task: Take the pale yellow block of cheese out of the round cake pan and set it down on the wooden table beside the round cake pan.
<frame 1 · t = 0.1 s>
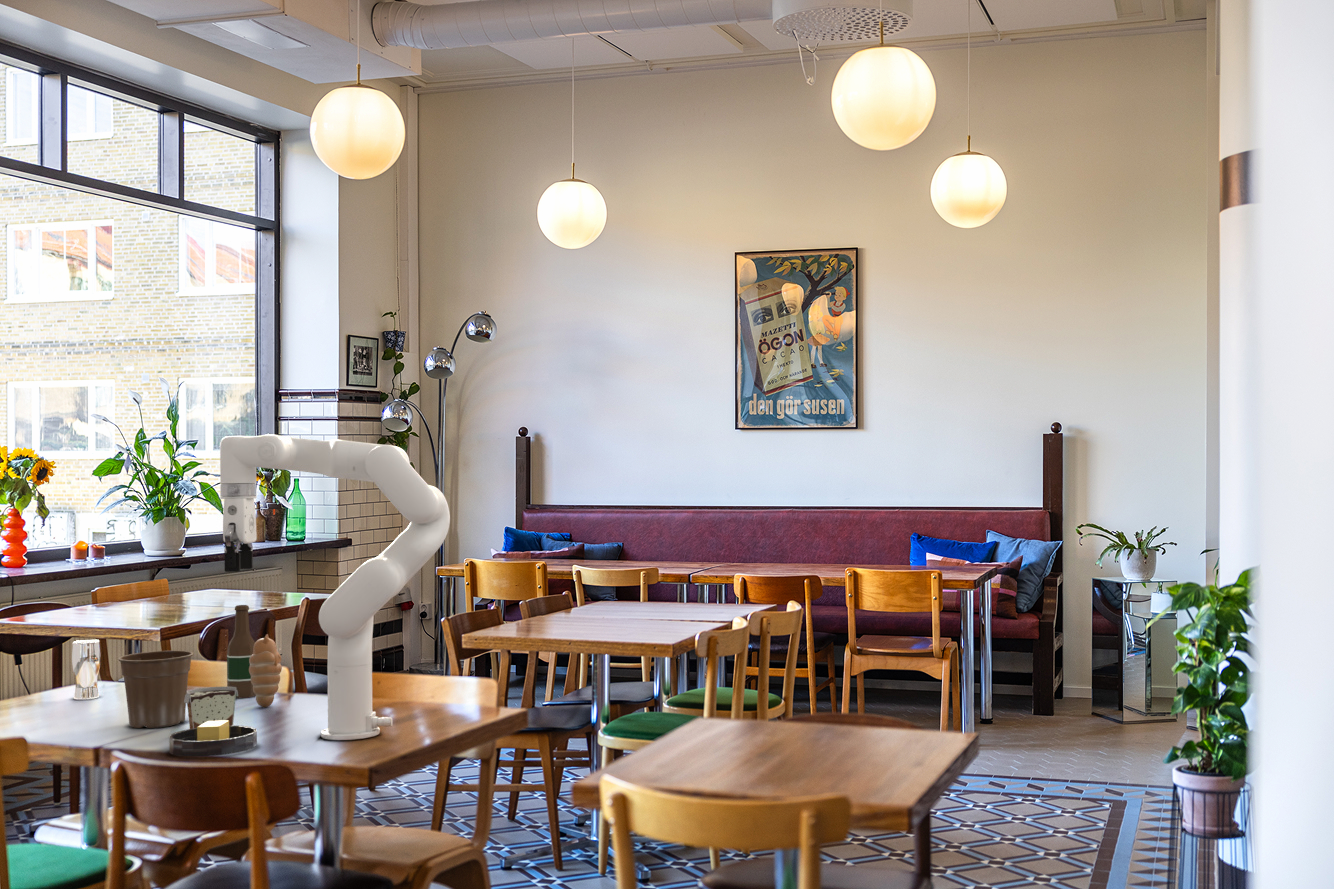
hand: (238, 570, 279), 37 cm above the table, tool pointing down, fingers open, 9 cm apart
cheese: (213, 747, 266), resting on round cake pan
food container: (206, 735, 284), on the table
plant pot: (156, 725, 298), on the table
beer bottle: (242, 696, 337), on the table
round cake pan: (213, 750, 266), on the table
beer glass: (86, 698, 339), on the table
tan ribbed tapered piece: (265, 708, 319), on the table
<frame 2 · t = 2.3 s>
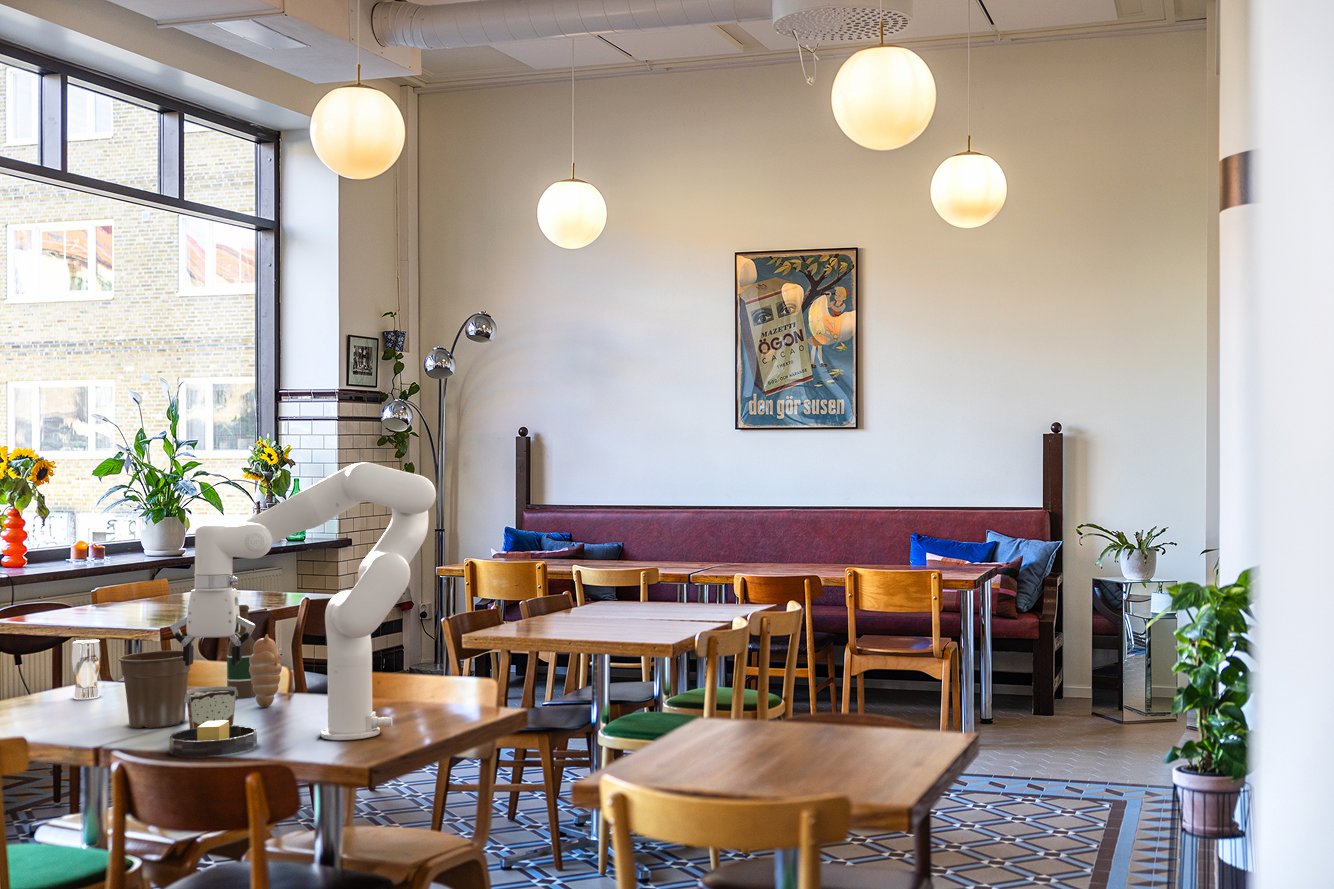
hand: (212, 664, 267), 18 cm above the table, tool pointing down, fingers open, 9 cm apart
nothing on the table moved.
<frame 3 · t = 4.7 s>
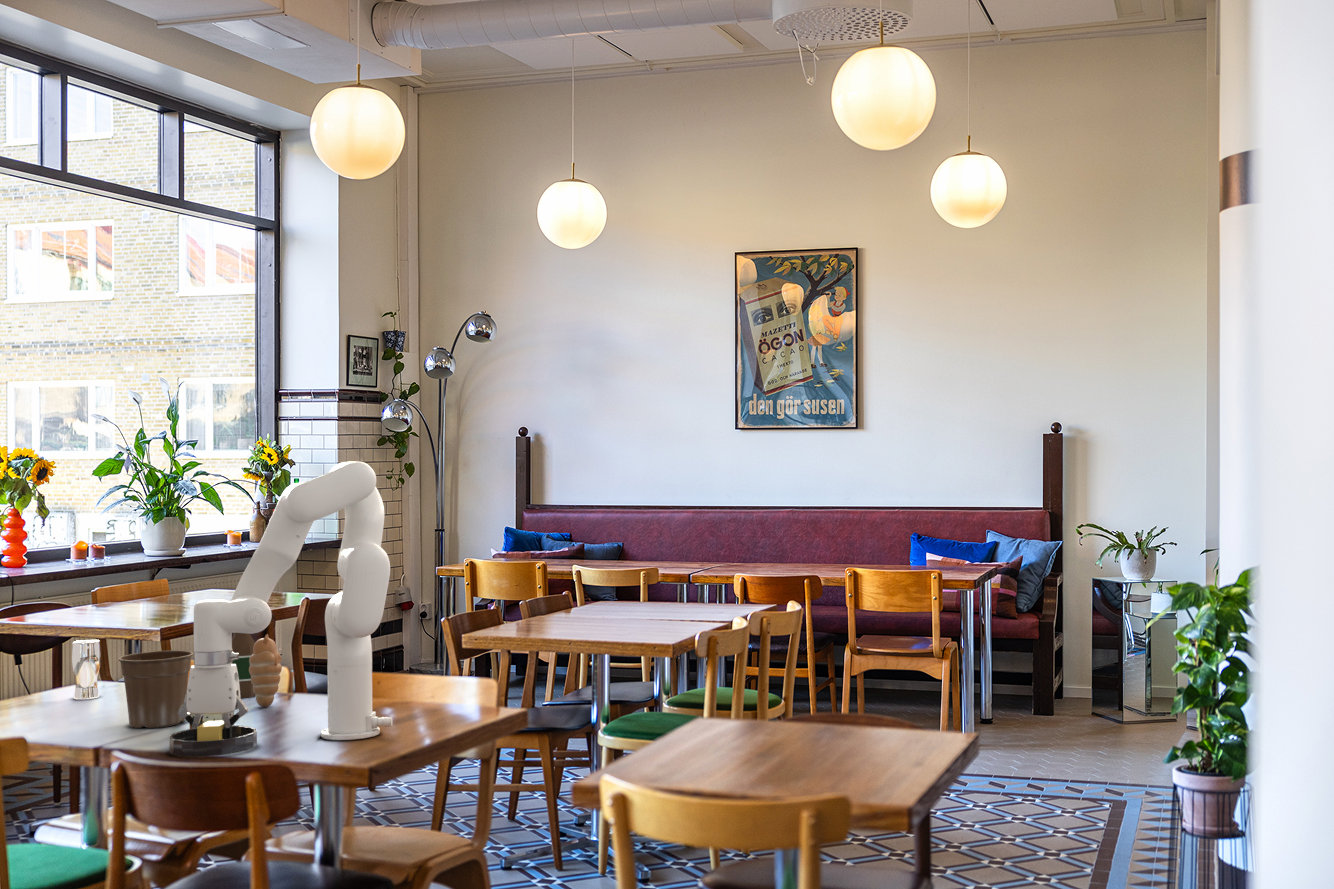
hand: (213, 745, 266), 1 cm above the table, tool pointing down, fingers closed on cheese, 4 cm apart
cheese: (213, 747, 266), point 1 cm above the table, touching gripper, round cake pan
everything else where it was.
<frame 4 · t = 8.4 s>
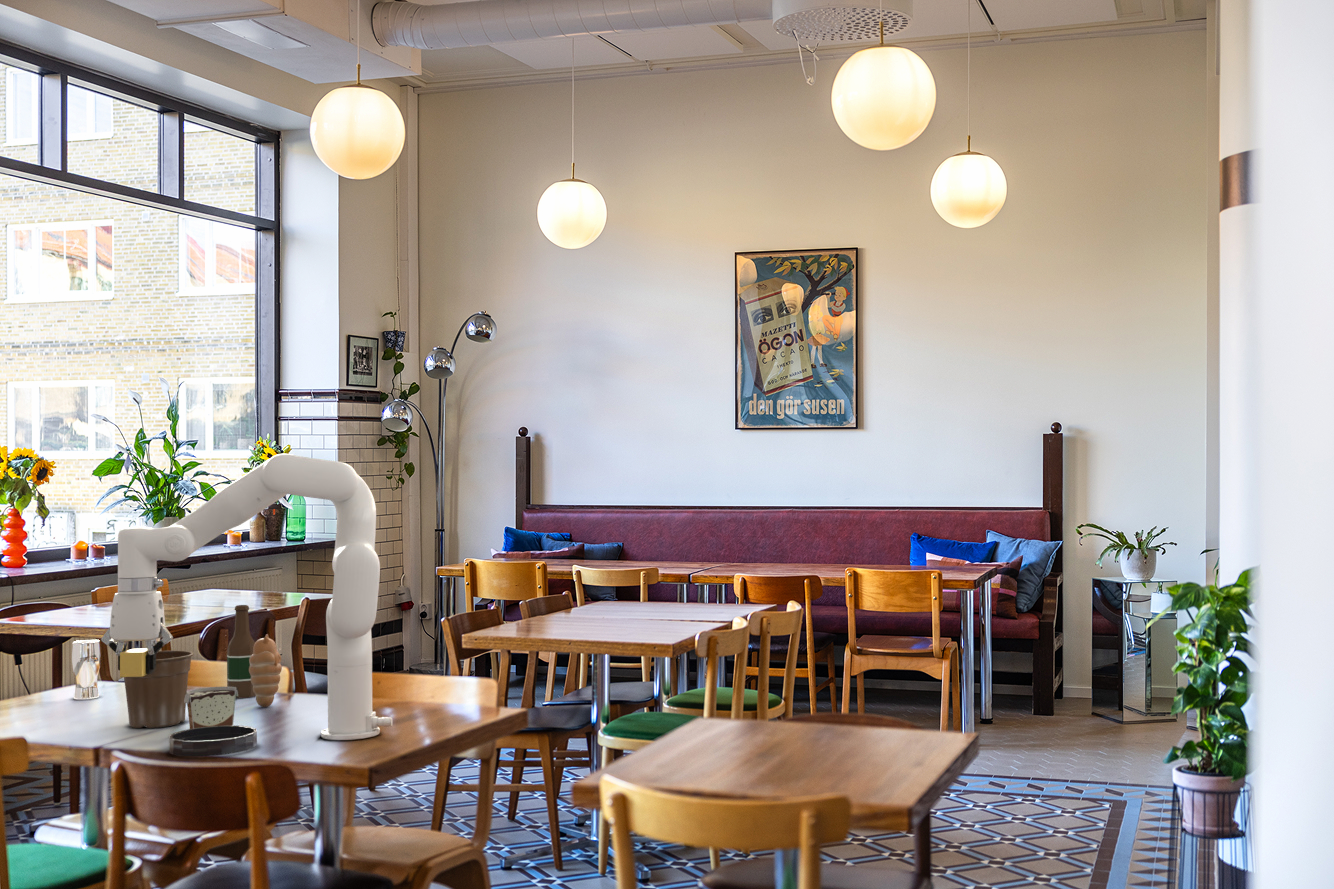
hand: (137, 672, 266), 16 cm above the table, tool pointing down, fingers closed on cheese, 4 cm apart
cheese: (137, 674, 266), point 16 cm above the table, touching gripper
everything else where it was.
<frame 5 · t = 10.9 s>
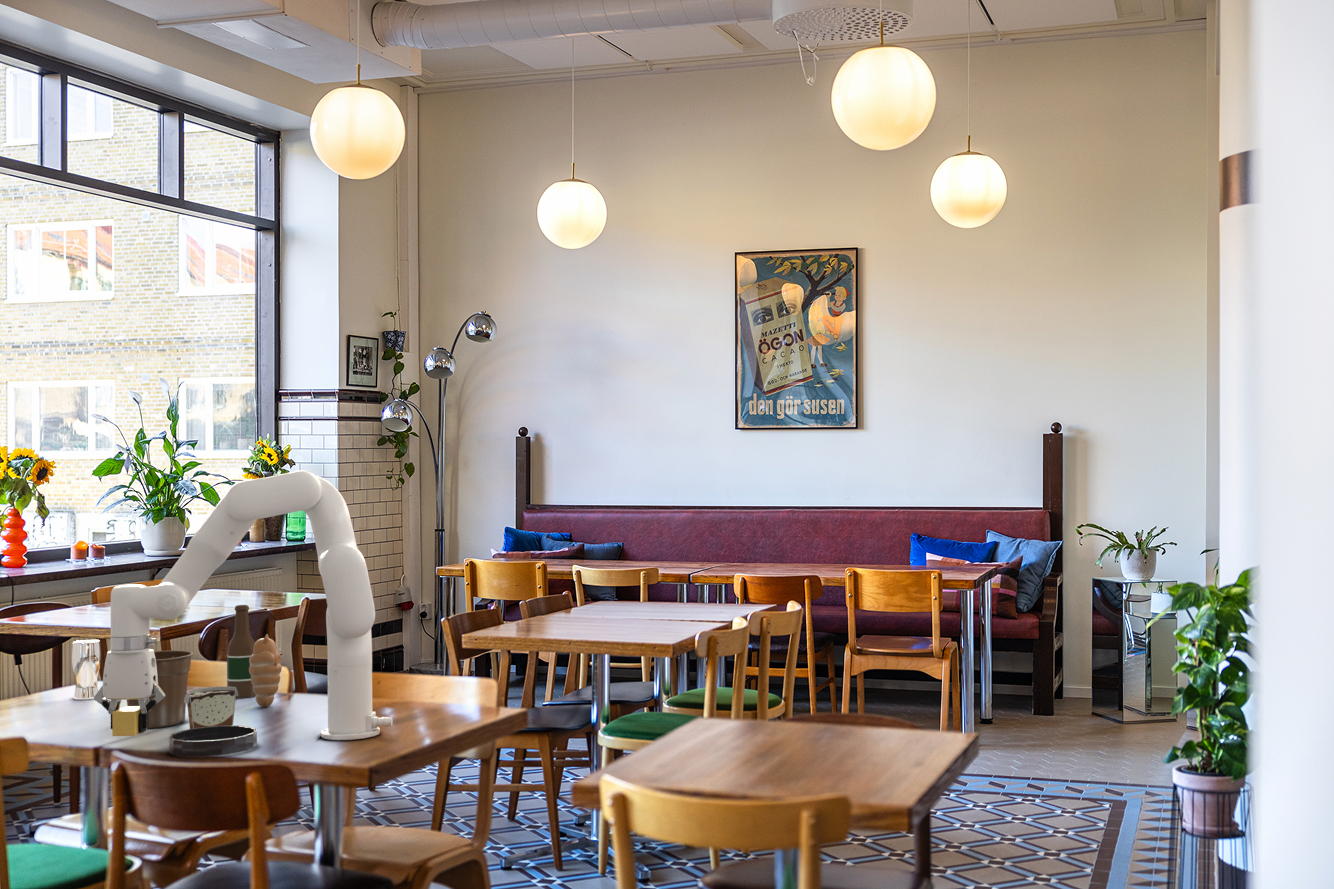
hand: (129, 731, 265), 4 cm above the table, tool pointing down, fingers closed on cheese, 4 cm apart
cheese: (129, 733, 265), point 4 cm above the table, touching gripper
everything else where it was.
when the fingers open (0 cm above the table, at t = 12.3 s): cheese stays where it is, on the table.
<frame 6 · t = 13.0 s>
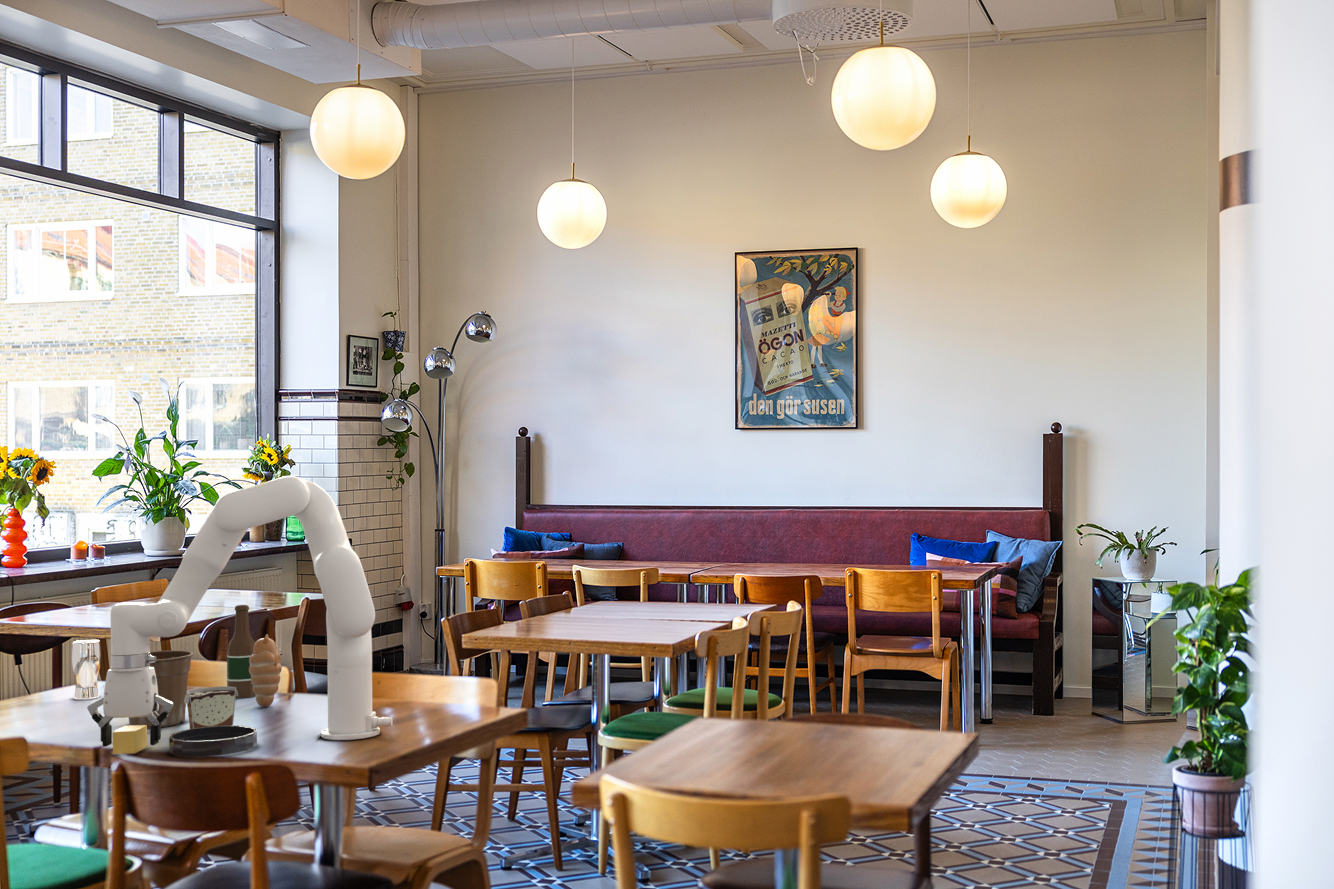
hand: (130, 744, 265), 2 cm above the table, tool pointing down, fingers open, 9 cm apart
cheese: (130, 752, 265), on the table
everything else where it was.
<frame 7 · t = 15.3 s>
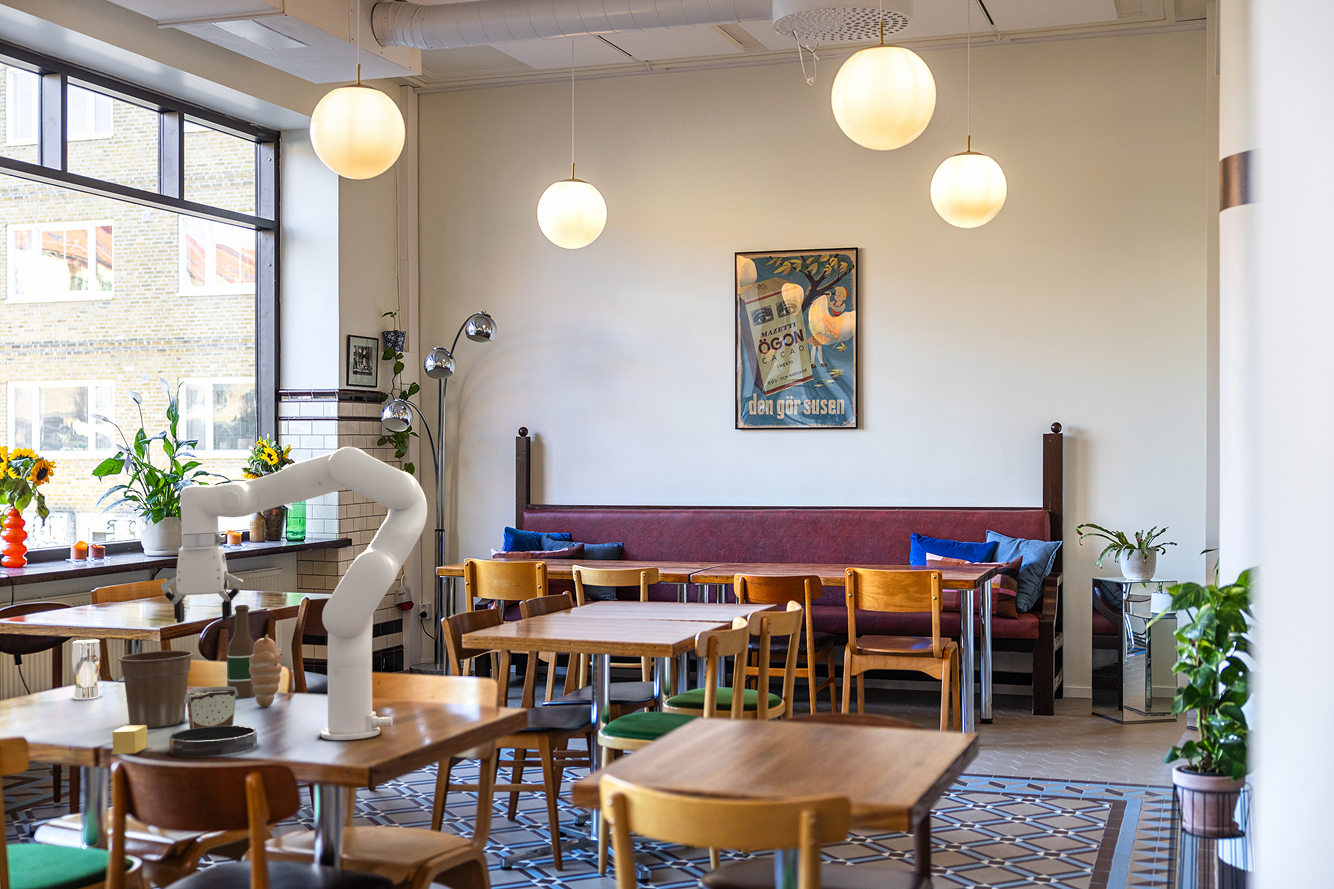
hand: (203, 621, 276), 26 cm above the table, tool pointing down, fingers open, 9 cm apart
nothing on the table moved.
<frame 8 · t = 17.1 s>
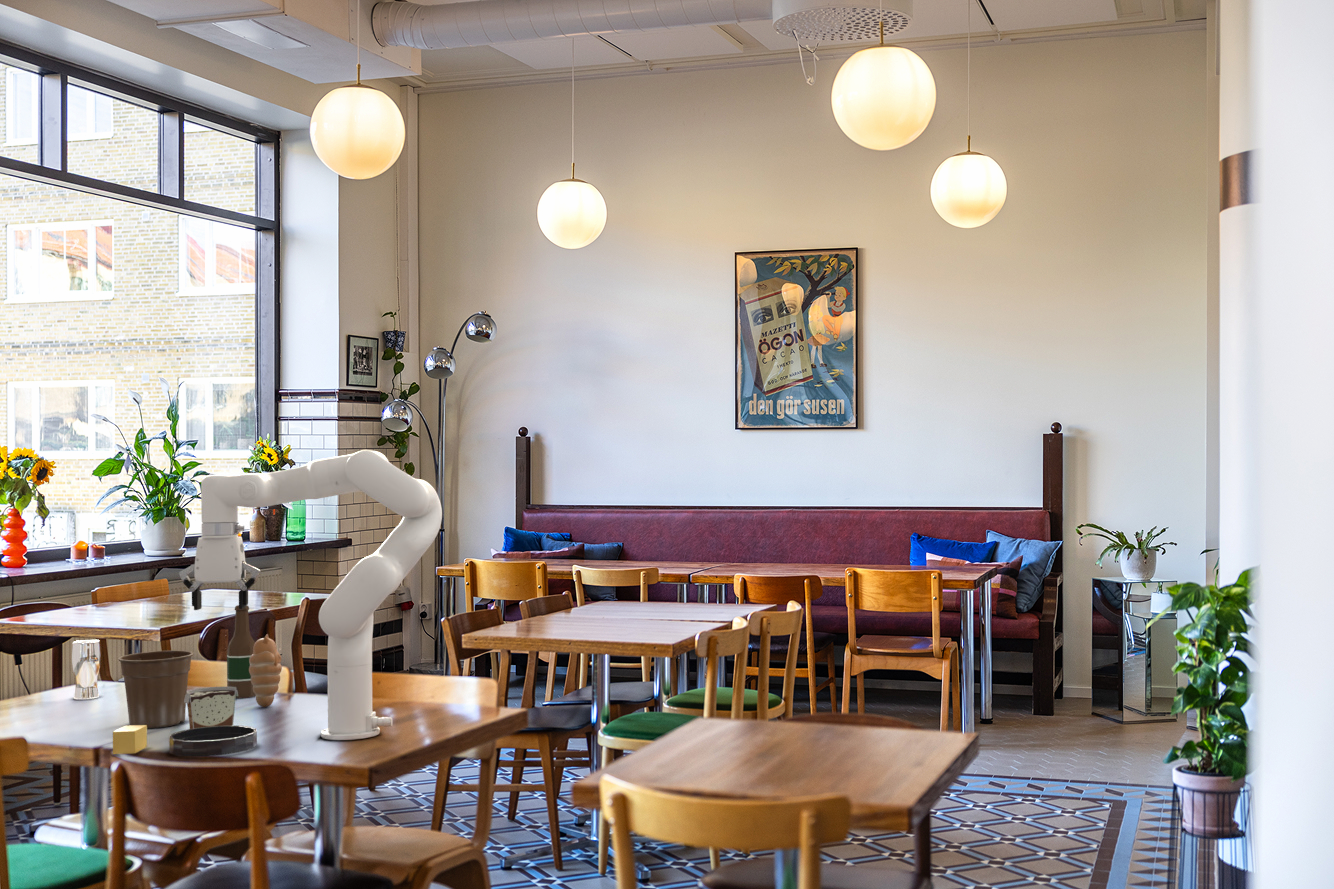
hand: (220, 609, 279), 28 cm above the table, tool pointing down, fingers open, 9 cm apart
nothing on the table moved.
at the end: cheese inside the target area (0.1 cm from its centre), on the table; cheese touching table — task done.
